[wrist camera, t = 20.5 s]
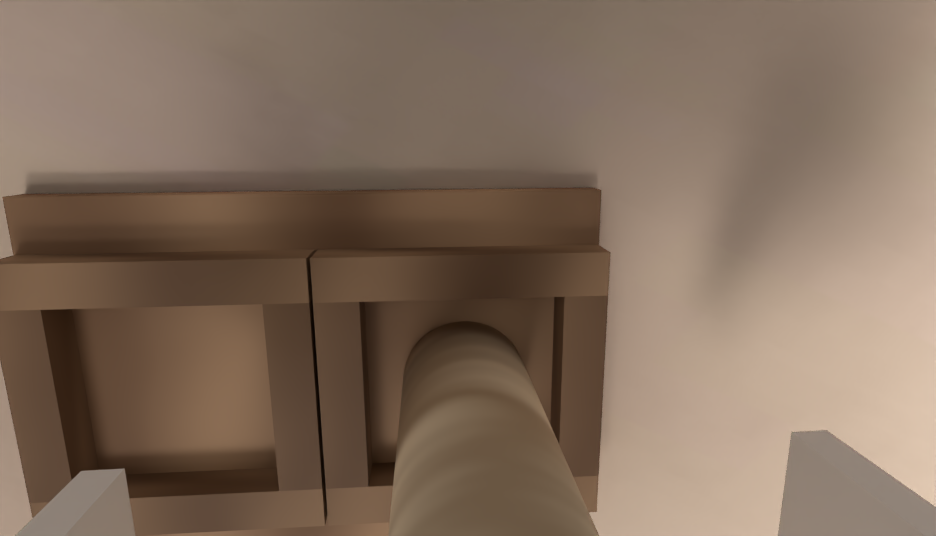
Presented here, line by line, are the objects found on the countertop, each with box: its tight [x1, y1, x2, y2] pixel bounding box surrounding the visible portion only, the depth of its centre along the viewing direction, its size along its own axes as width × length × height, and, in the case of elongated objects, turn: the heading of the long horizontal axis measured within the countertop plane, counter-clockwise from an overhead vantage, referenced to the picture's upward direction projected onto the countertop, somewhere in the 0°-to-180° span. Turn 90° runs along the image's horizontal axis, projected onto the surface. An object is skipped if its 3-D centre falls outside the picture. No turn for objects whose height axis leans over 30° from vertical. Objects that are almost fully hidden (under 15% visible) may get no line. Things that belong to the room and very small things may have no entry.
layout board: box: [0, 188, 610, 536], centre depth 16 cm, size 16×11×2 cm
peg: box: [388, 321, 599, 536], centre depth 12 cm, size 4×4×10 cm
